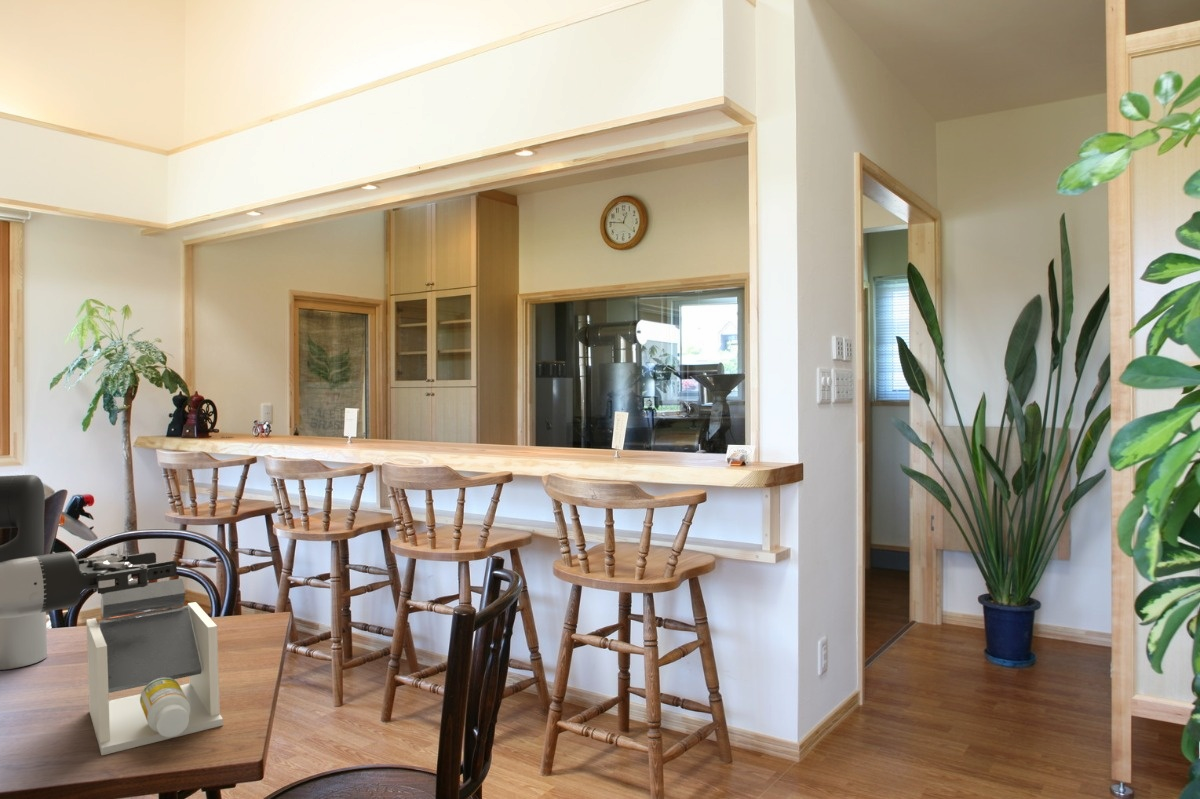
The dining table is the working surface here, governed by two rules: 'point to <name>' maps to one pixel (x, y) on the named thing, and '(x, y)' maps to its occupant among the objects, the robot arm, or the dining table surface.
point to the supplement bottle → (165, 707)
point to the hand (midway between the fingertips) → (165, 563)
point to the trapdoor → (148, 635)
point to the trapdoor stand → (124, 717)
